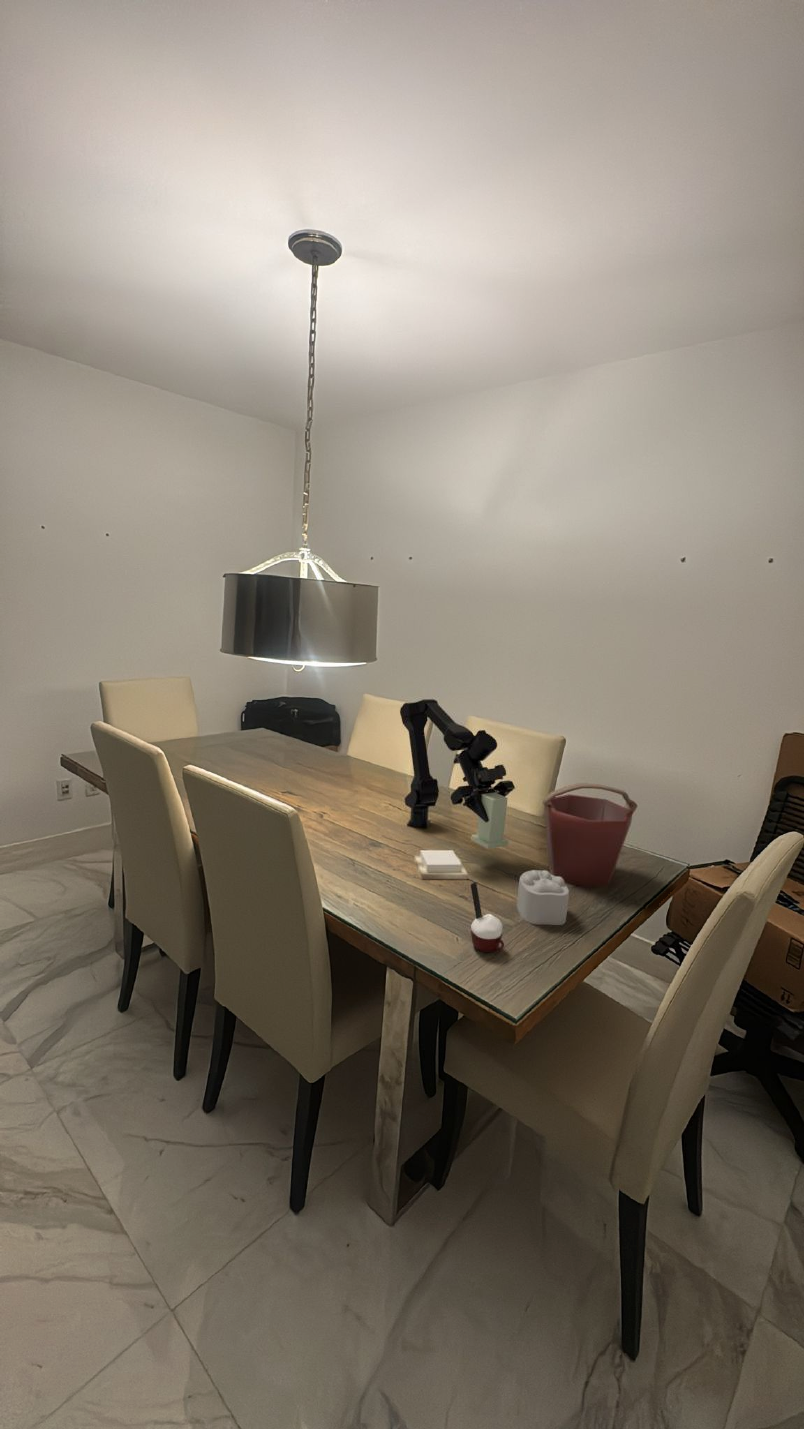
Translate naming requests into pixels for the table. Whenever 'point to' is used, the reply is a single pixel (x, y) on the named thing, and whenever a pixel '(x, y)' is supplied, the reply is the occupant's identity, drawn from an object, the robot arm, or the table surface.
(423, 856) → the whitewashed top slab
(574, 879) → the bucket
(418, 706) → the robot arm
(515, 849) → the table surface
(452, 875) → the ash base slab
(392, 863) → the table surface
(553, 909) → the white paw print block
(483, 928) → the cocoa
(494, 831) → the sage pillar
